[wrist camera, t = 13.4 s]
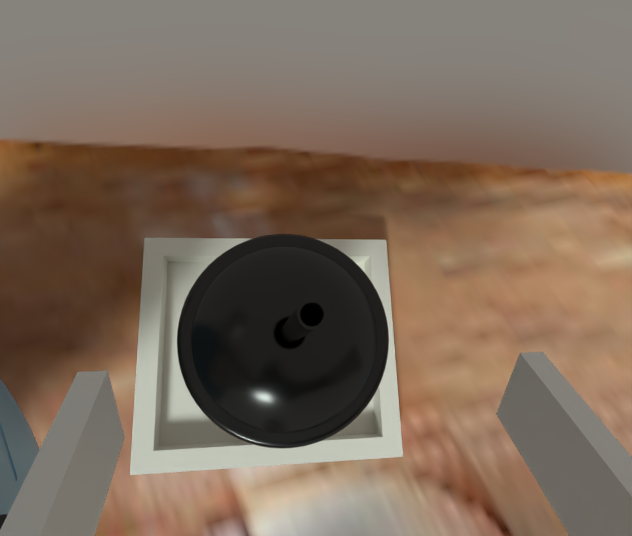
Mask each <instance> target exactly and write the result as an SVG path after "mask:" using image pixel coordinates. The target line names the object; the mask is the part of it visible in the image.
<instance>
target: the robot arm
mask: <svg viewBox="0 0 632 536" xmlns="http://www.w3.org/2000/svg"><path fill="white" fill-rule="evenodd" d="M496 414H497V416H498V417H499V419H500V421H501V422H502V424H503V426H504V427H505V429H506V431H507V432H508V434H509V436H510V437H511V439H512V441H513V442H514V444H515V446H516V447H517V449H518V451H519V452H520V454H521V456H522V457H523V459H524V461H525V462H526V464H527V466H528V467H529V469H530V471H531V472H532V474H533V476H534V477H535V479H536V481H537V482H538V484H539V486H540V487H541V489H542V491H543V492H544V494H545V496H546V497H547V499H548V501H549V502H550V504H551V506H552V507H553V509H554V511H555V512H556V514H557V516H558V517H559V519H560V521H561V522H562V524H563V526H564V527H565V529H566V531H567V532H568V534H569V536H632V457H631V456H630V455H629V453H628V452H627V451H626V450H625V449H624V447H623V446H622V445H621V444H620V443H619V442H618V440H617V439H616V438H615V437H614V436H613V434H612V433H611V432H610V431H609V430H608V429H607V427H606V426H605V425H604V424H603V423H602V421H601V420H600V419H599V418H598V417H597V415H596V414H595V413H594V412H593V411H592V410H591V408H590V407H589V406H588V405H587V404H586V402H585V401H584V400H583V399H582V398H581V397H580V395H579V394H578V393H577V392H576V391H575V389H574V388H573V387H572V386H571V385H570V384H569V382H568V381H567V380H566V379H565V378H564V376H563V375H562V374H561V373H560V372H559V371H558V369H557V368H556V367H555V366H554V365H553V363H552V362H551V361H550V360H549V359H548V358H547V356H546V355H545V354H544V353H543V352H528V353H520V354H519V357H518V359H517V362H516V365H515V367H514V370H513V372H512V375H511V377H510V380H509V383H508V385H507V388H506V390H505V393H504V395H503V398H502V401H501V403H500V406H499V408H498V411H497V413H496ZM123 441H124V433H123V429H122V426H121V422H120V418H119V414H118V410H117V406H116V402H115V398H114V394H113V390H112V386H111V382H110V379H109V375H108V371H88V372H77V374H76V376H75V378H74V381H73V383H72V385H71V387H70V389H69V391H68V393H67V395H66V397H65V399H64V401H63V403H62V405H61V407H60V409H59V411H58V413H57V415H56V417H55V419H54V421H53V423H52V425H51V427H50V429H49V431H48V434H47V436H46V438H45V440H44V442H43V444H42V446H41V448H40V450H39V447H38V444H37V441H36V439H35V437H34V435H33V432H32V430H31V428H30V426H29V424H28V422H27V420H26V418H25V417H24V415H23V413H22V411H21V409H20V408H19V406H18V405H17V403H16V401H15V399H14V398H13V396H12V395H11V393H10V392H9V390H8V389H7V387H6V386H5V384H4V383H3V382H2V380H1V379H0V536H95V532H96V529H97V526H98V522H99V519H100V516H101V513H102V509H103V506H104V503H105V500H106V496H107V493H108V490H109V486H110V483H111V480H112V477H113V473H114V470H115V467H116V464H117V460H118V457H119V454H120V450H121V447H122V444H123Z"/></svg>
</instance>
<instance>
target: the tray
mask: <svg viewBox="0 0 632 536" xmlns="http://www.w3.org/2000/svg"><path fill="white" fill-rule="evenodd" d="M248 240H250V239H248V238H144V254H143V270H142V286H141V303H140V319H139V335H138V352H137V368H136V384H135V401H134V417H133V433H132V450H131V466H130V475H137V474H152V473H167V472H182V471H197V470H212V469H227V468H241V467H256V466H271V465H286V464H301V463H316V462H331V461H345V460H360V459H375V458H390V457H403V451H402V438H401V425H400V413H399V400H398V387H397V374H396V361H395V348H394V335H393V322H392V309H391V297H390V284H389V271H388V258H387V245H386V240H364V239H317V240H320V241H322V242H325V243H327V244H329V245H331V246H333V247H335V248H337V249H338V250H340V251H341V252H343V253H344V254H346V255H347V256H348V257H349V258H351V259H352V260H353V261H354V262H355V263H356V264H357V265H358V266H359V267H360V268H361V269H362V270H363V271H364V272H365V274H366V275H367V276H368V278H369V279H370V280H371V282H372V283H373V285H374V287H375V289H376V290H377V292H378V295H379V297H380V299H381V301H382V304H383V307H384V310H385V314H386V318H387V324H388V332H389V349H388V358H387V363H386V367H385V371H384V374H383V377H382V380H381V382H380V385H379V387H378V389H377V391H376V393H375V394H374V396H373V398H372V400H371V401H370V402H369V404H368V405H367V407H366V408H365V409H364V410H363V411H362V413H361V414H360V415H359V416H358V417H357V418H356V419H355V420H354V421H353V422H352V423H350V424H349V425H348V426H347V427H345V428H344V429H343V430H341V431H340V432H338V433H336V434H335V435H333V436H331V437H329V438H327V439H325V440H323V441H320V442H317V443H314V444H311V445H307V446H303V447H297V448H284V449H279V448H268V447H261V446H257V445H254V444H250V443H247V442H245V441H242V440H240V439H237V438H236V437H234V436H232V435H230V434H228V433H227V432H225V431H224V430H222V429H221V428H219V427H218V426H217V425H216V424H214V423H213V422H212V421H211V420H210V419H209V418H208V417H207V416H206V415H205V414H204V413H203V412H202V411H201V409H200V408H199V407H198V405H197V404H196V403H195V401H194V399H193V398H192V396H191V394H190V393H189V391H188V389H187V387H186V384H185V382H184V379H183V376H182V373H181V369H180V366H179V360H178V354H177V331H178V324H179V318H180V315H181V311H182V308H183V305H184V302H185V300H186V297H187V295H188V293H189V291H190V289H191V288H192V286H193V284H194V283H195V281H196V280H197V278H198V277H199V276H200V274H201V273H202V272H203V271H204V270H205V269H206V268H207V266H208V265H209V264H210V263H212V262H213V261H214V260H215V259H216V258H217V257H219V256H220V255H221V254H223V253H224V252H226V251H227V250H229V249H231V248H232V247H234V246H236V245H238V244H240V243H242V242H245V241H248Z"/></svg>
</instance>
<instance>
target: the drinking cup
mask: <svg viewBox="0 0 632 536" xmlns="http://www.w3.org/2000/svg"><path fill="white" fill-rule="evenodd" d="M388 349H389V332H388V324H387V318H386V314H385V310H384V307H383V304H382V301H381V299H380V297H379V295H378V292H377V290H376V289H375V287H374V285H373V283H372V282H371V280H370V279H369V278H368V276H367V275H366V274H365V272H364V271H363V270H362V269H361V268H360V267H359V266H358V265H357V264H356V263H355V262H354V261H353V260H352V259H351V258H349V257H348V256H347V255H346V254H344V253H343V252H341V251H340V250H338V249H337V248H335V247H333V246H331V245H329V244H327V243H325V242H322V241H320V240H317V239H314V238H310V237H306V236H301V235H293V234H275V235H267V236H261V237H257V238H253V239H250V240H248V241H245V242H242V243H240V244H238V245H236V246H234V247H232V248H231V249H229V250H227V251H226V252H224V253H223V254H221V255H220V256H219V257H217V258H216V259H215V260H214V261H213V262H212V263H210V264H209V265H208V266H207V268H206V269H205V270H204V271H203V272H202V273H201V274H200V276H199V277H198V278H197V280H196V281H195V283H194V284H193V286H192V288H191V289H190V291H189V293H188V295H187V297H186V300H185V302H184V305H183V308H182V311H181V315H180V318H179V324H178V331H177V354H178V360H179V366H180V369H181V373H182V376H183V379H184V382H185V384H186V387H187V389H188V391H189V393H190V394H191V396H192V398H193V399H194V401H195V403H196V404H197V405H198V407H199V408H200V409H201V411H202V412H203V413H204V414H205V415H206V416H207V417H208V418H209V419H210V420H211V421H212V422H213V423H214V424H216V425H217V426H218V427H219V428H221V429H222V430H224V431H225V432H227V433H228V434H230V435H232V436H234V437H236V438H237V439H240V440H242V441H245V442H247V443H250V444H254V445H257V446H261V447H268V448H279V449H284V448H297V447H303V446H307V445H311V444H314V443H317V442H320V441H323V440H325V439H327V438H329V437H331V436H333V435H335V434H336V433H338V432H340V431H341V430H343V429H344V428H345V427H347V426H348V425H349V424H350V423H352V422H353V421H354V420H355V419H356V418H357V417H358V416H359V415H360V414H361V413H362V411H363V410H364V409H365V408H366V407H367V405H368V404H369V402H370V401H371V400H372V398H373V396H374V394H375V393H376V391H377V389H378V387H379V385H380V382H381V380H382V377H383V374H384V371H385V367H386V363H387V358H388Z"/></svg>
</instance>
